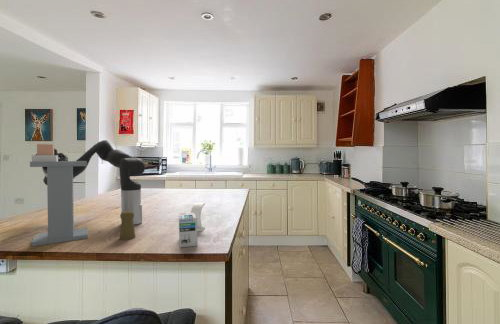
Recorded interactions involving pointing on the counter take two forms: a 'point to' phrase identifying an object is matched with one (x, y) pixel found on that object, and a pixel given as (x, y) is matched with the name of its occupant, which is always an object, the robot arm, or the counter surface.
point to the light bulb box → (187, 229)
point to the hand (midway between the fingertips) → (48, 150)
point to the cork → (127, 226)
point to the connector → (45, 149)
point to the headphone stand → (198, 214)
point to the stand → (59, 200)
